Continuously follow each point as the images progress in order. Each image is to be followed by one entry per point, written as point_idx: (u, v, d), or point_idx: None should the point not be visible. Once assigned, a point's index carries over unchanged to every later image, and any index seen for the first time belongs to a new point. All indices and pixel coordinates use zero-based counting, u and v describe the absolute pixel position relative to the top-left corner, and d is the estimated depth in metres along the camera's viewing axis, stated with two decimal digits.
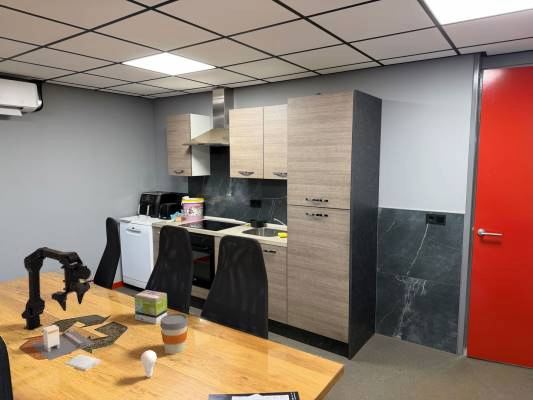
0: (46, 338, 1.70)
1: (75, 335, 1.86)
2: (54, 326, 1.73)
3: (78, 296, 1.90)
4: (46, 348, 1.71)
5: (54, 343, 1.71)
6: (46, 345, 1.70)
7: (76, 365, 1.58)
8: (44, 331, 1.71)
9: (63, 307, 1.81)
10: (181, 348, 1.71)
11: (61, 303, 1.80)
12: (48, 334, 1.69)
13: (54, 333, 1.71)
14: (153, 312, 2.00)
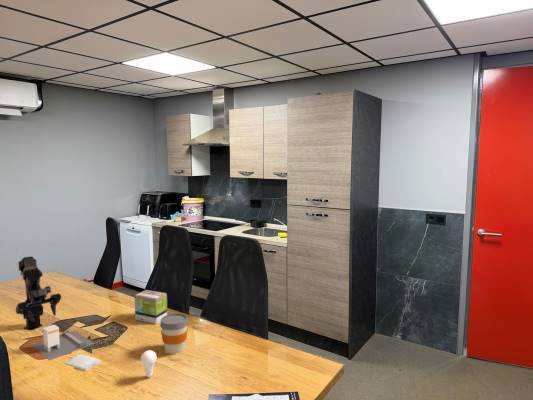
0: (46, 338, 1.70)
1: (75, 335, 1.86)
2: (54, 326, 1.73)
3: (52, 309, 1.82)
4: (46, 348, 1.71)
5: (54, 343, 1.71)
6: (46, 345, 1.70)
7: (76, 365, 1.58)
8: (44, 331, 1.71)
9: (30, 317, 1.73)
10: (181, 348, 1.71)
11: (28, 315, 1.74)
12: (48, 334, 1.69)
13: (54, 333, 1.71)
14: (153, 312, 2.00)
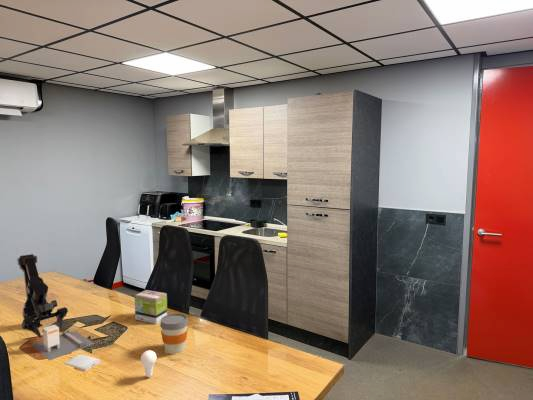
0: (46, 338, 1.70)
1: (75, 335, 1.86)
2: (54, 326, 1.73)
3: (58, 323, 1.78)
4: (46, 348, 1.71)
5: (54, 343, 1.71)
6: (46, 345, 1.70)
7: (76, 365, 1.58)
8: (44, 331, 1.71)
9: (37, 333, 1.69)
10: (181, 348, 1.71)
11: (34, 330, 1.70)
12: (48, 334, 1.69)
13: (54, 333, 1.71)
14: (153, 312, 2.00)
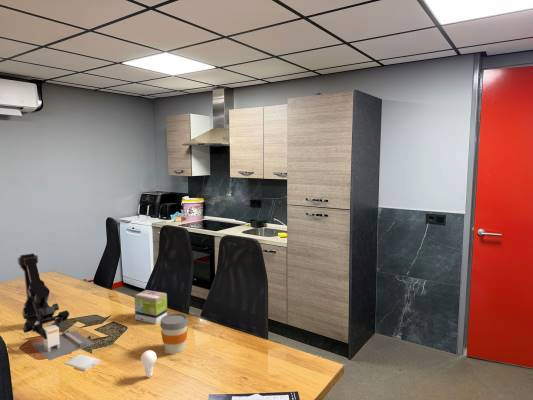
0: None
1: (75, 335, 1.86)
2: (54, 326, 1.73)
3: None
4: (46, 348, 1.71)
5: (54, 343, 1.71)
6: (46, 345, 1.70)
7: (76, 365, 1.58)
8: (44, 331, 1.71)
9: (43, 335, 1.70)
10: (181, 348, 1.71)
11: (40, 332, 1.70)
12: (48, 334, 1.69)
13: (54, 333, 1.71)
14: (153, 312, 2.00)
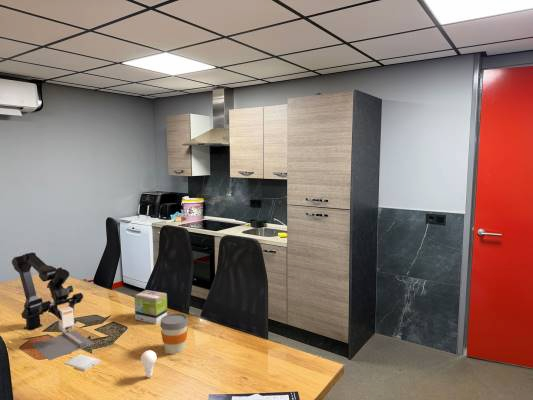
0: None
1: (75, 335, 1.86)
2: (69, 307, 1.78)
3: None
4: (61, 328, 1.75)
5: (69, 324, 1.76)
6: (61, 326, 1.75)
7: (76, 365, 1.58)
8: None
9: (58, 316, 1.74)
10: (181, 348, 1.71)
11: (55, 313, 1.75)
12: (63, 315, 1.74)
13: (68, 314, 1.75)
14: (153, 312, 2.00)
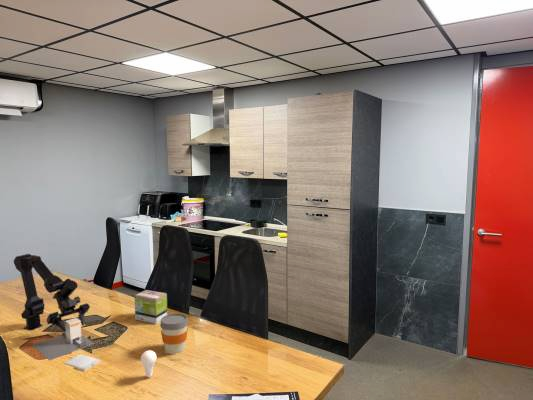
0: (69, 331, 1.77)
1: None
2: (76, 319, 1.81)
3: (80, 319, 1.85)
4: (68, 340, 1.78)
5: (76, 335, 1.79)
6: (69, 337, 1.78)
7: (75, 365, 1.58)
8: (67, 324, 1.78)
9: (62, 328, 1.76)
10: (181, 348, 1.71)
11: (59, 325, 1.77)
12: (71, 327, 1.77)
13: (76, 326, 1.79)
14: (153, 312, 2.00)
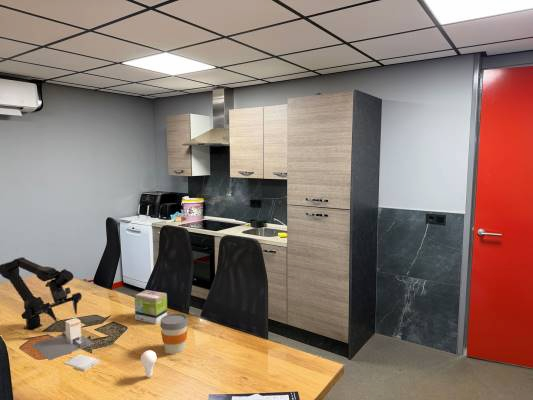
0: (69, 331, 1.77)
1: None
2: (76, 319, 1.81)
3: None
4: (68, 340, 1.78)
5: (76, 335, 1.79)
6: (69, 337, 1.78)
7: (75, 365, 1.58)
8: (67, 324, 1.78)
9: (53, 318, 1.83)
10: (181, 348, 1.71)
11: (51, 315, 1.84)
12: (71, 327, 1.77)
13: (76, 326, 1.79)
14: (153, 312, 2.00)
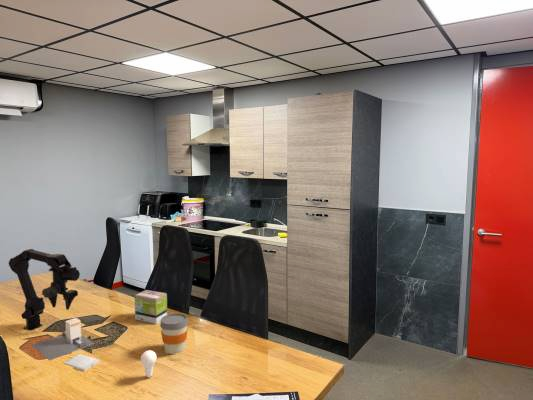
0: (69, 331, 1.77)
1: None
2: (76, 319, 1.81)
3: None
4: (68, 340, 1.78)
5: (76, 335, 1.79)
6: (69, 337, 1.78)
7: (75, 365, 1.58)
8: (67, 324, 1.78)
9: None
10: (181, 348, 1.71)
11: None
12: (71, 327, 1.77)
13: (76, 326, 1.79)
14: (153, 312, 2.00)
